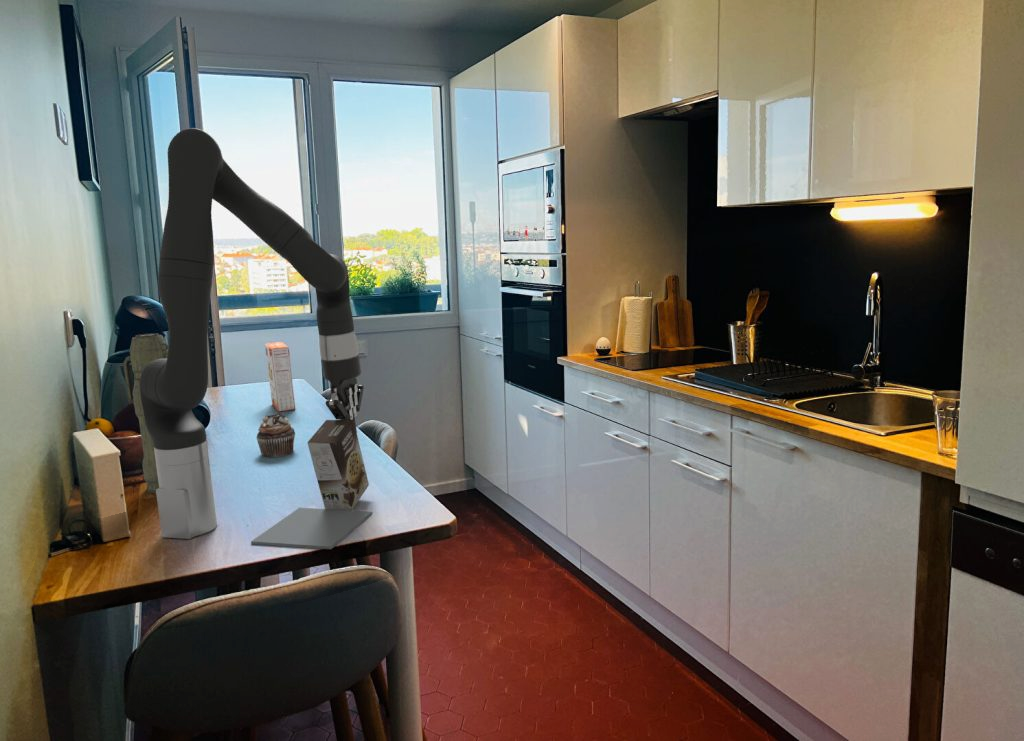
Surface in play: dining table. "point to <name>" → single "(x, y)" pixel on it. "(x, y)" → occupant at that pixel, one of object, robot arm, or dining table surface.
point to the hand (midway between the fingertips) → (350, 435)
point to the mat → (313, 528)
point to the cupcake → (275, 436)
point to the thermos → (142, 354)
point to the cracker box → (280, 376)
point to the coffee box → (338, 464)
